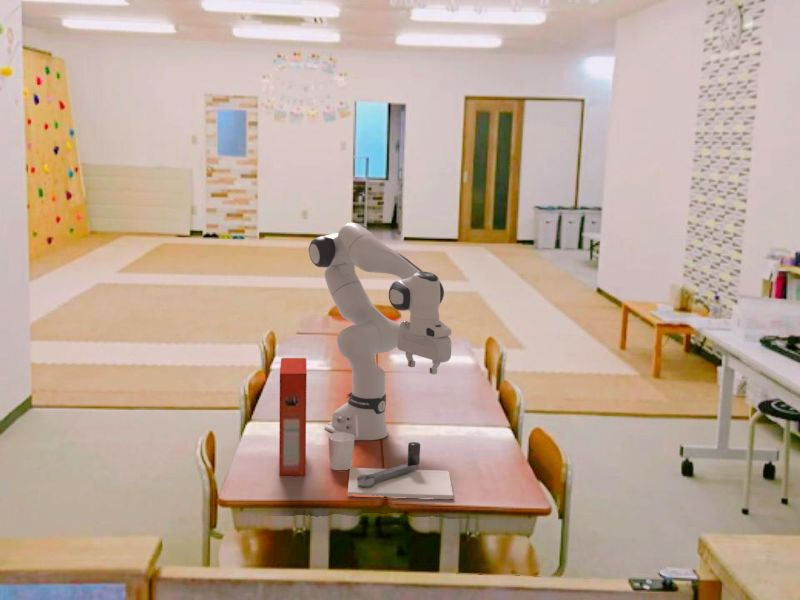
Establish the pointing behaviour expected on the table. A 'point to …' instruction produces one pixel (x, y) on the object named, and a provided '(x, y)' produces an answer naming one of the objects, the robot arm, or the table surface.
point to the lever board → (404, 484)
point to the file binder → (292, 417)
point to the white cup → (341, 450)
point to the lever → (395, 471)
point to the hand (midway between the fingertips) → (422, 370)
